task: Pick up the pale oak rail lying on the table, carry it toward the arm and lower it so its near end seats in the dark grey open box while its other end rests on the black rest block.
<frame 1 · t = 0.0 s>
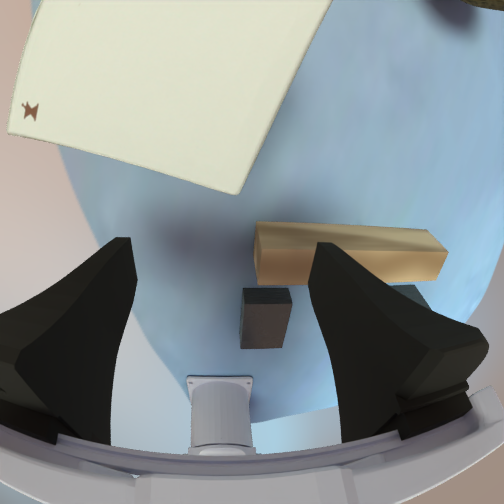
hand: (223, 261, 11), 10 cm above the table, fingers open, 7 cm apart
supplement box: (198, 58, 15), on the table
rest block: (262, 312, 27), on the table
rail: (349, 239, 24), on the table
dark grey open box: (382, 307, 29), on the table
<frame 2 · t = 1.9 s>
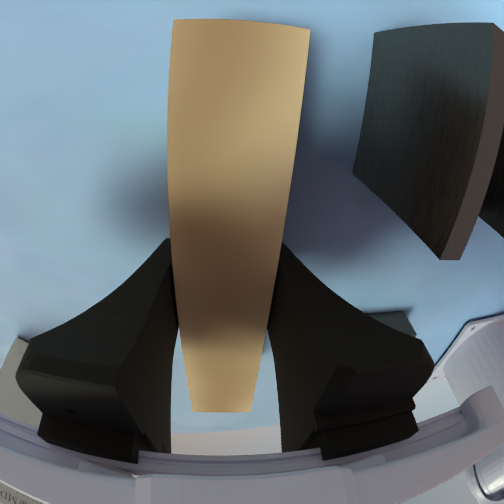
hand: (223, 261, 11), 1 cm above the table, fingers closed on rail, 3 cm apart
supplement box: (61, 373, 18), on the table
rest block: (352, 337, 17), on the table
rail: (222, 239, 12), on the table, touching gripper
dark grey open box: (425, 119, 10), on the table
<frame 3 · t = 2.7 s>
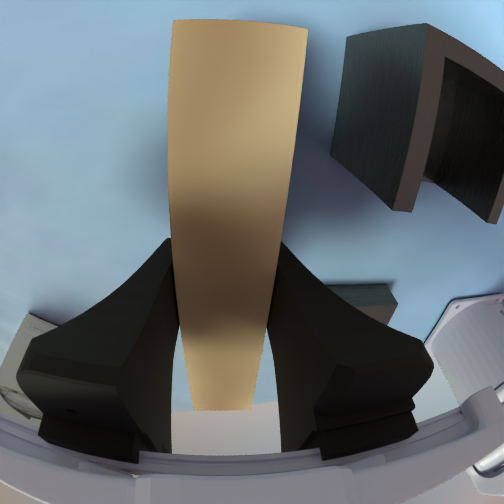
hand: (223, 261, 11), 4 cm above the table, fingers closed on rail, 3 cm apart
supplement box: (68, 349, 20), on the table
rest block: (339, 307, 19), on the table
rail: (222, 238, 12), point 2 cm above the table, touching gripper
dark grey open box: (393, 108, 12), on the table
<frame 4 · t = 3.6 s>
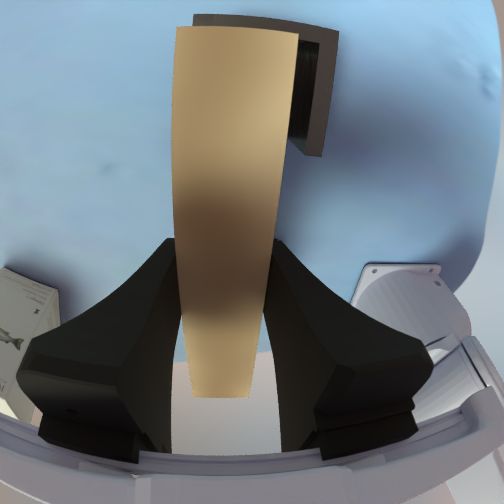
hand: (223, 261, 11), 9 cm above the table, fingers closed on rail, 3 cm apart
supplement box: (32, 299, 23), on the table
rail: (222, 229, 13), point 7 cm above the table, touching gripper
dark grey open box: (249, 82, 15), on the table
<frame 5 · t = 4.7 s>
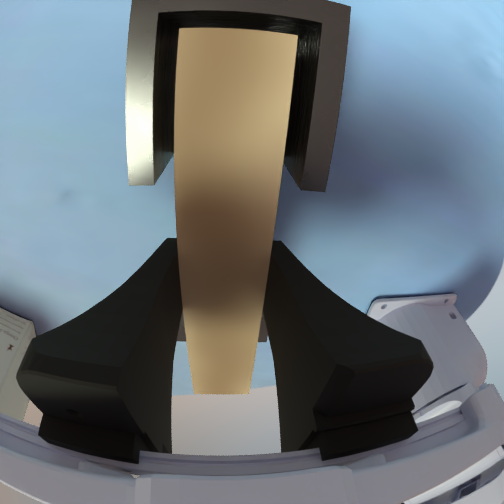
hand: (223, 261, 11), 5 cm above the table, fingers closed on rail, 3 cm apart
supplement box: (10, 328, 20), on the table
rest block: (220, 299, 19), on the table
rail: (223, 226, 13), point 2 cm above the table, touching gripper
dark grey open box: (230, 83, 12), on the table
when the fingers open (4 cm above the table, at t = 5.2 s): rail stays where it is, resting on dark grey open box, rest block.
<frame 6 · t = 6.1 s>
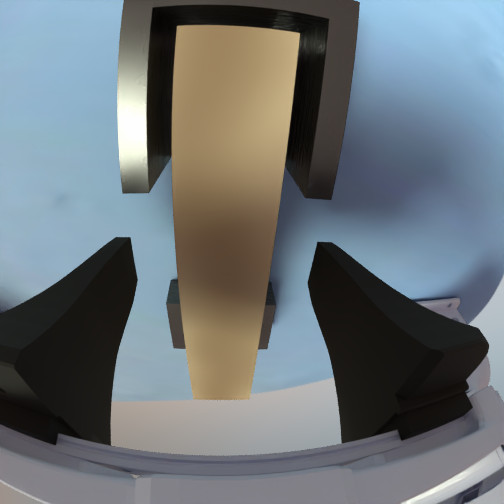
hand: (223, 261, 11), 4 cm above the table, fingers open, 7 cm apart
rest block: (220, 305, 18), on the table
rail: (222, 230, 13), point 2 cm above the table, touching dark grey open box, rest block
dark grey open box: (230, 83, 11), on the table
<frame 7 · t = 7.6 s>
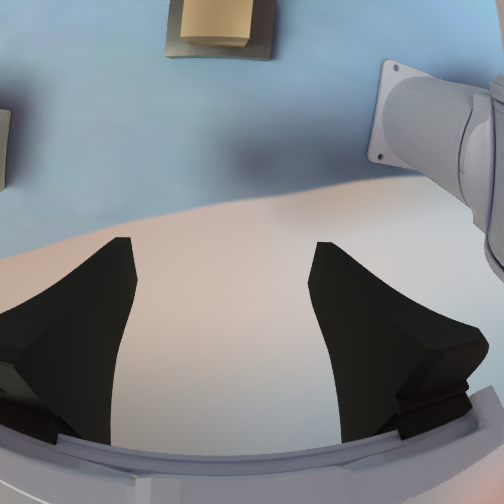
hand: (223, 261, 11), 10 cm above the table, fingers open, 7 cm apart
rest block: (220, 30, 14), on the table
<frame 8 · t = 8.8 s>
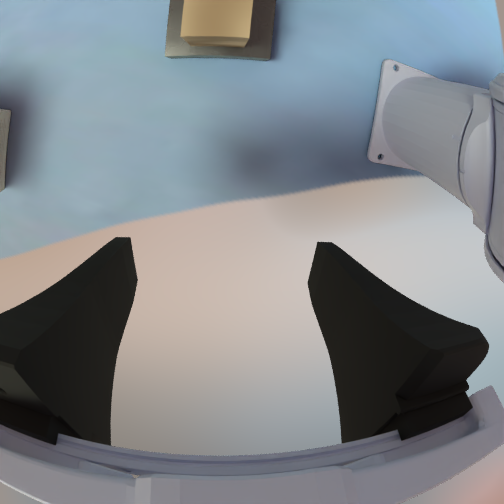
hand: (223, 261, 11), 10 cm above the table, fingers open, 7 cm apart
rest block: (220, 30, 14), on the table
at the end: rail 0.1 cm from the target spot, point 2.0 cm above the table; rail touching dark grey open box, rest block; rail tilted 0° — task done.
